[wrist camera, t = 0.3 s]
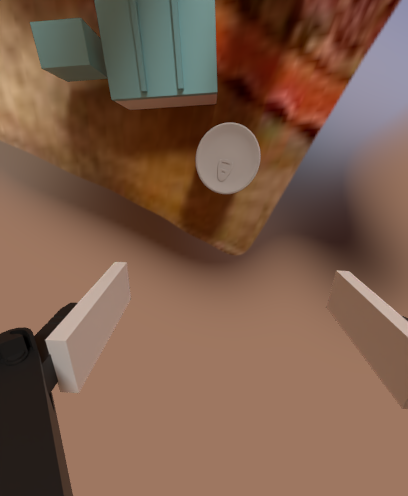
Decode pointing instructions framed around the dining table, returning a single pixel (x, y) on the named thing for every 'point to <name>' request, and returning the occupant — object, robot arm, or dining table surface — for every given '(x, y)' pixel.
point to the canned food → (228, 158)
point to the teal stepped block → (136, 48)
